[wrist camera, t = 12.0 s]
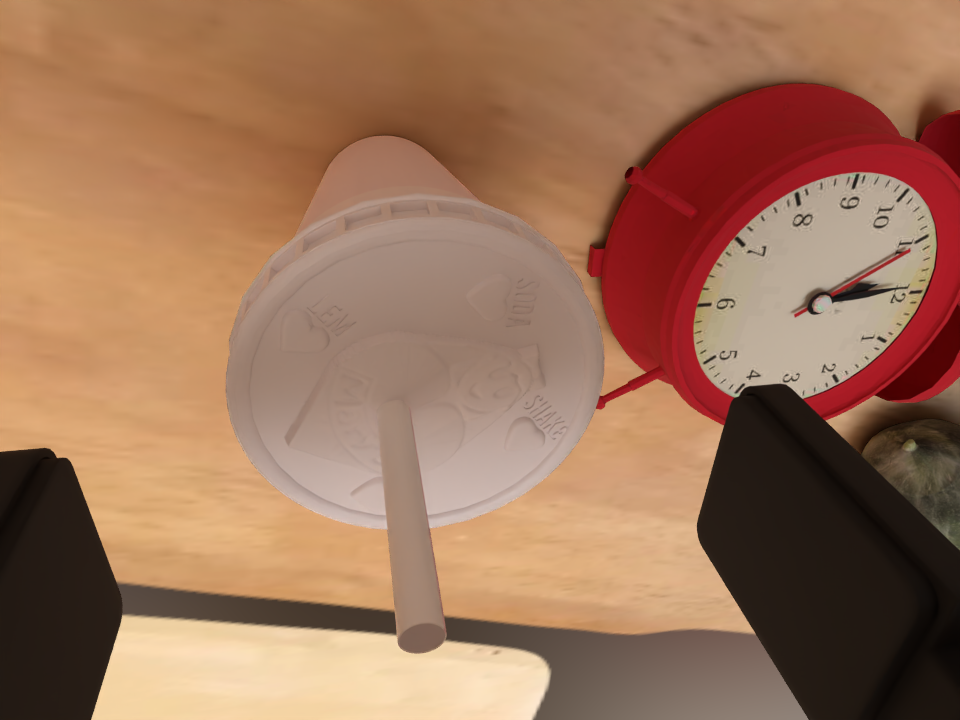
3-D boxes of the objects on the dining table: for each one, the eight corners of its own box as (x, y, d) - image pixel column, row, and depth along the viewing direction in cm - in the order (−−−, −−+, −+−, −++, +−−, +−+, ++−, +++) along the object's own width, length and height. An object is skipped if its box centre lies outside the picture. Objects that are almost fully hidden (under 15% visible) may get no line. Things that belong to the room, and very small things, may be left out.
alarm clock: (629, 116, 15) (1306, 136, 15) (599, 68, 21) (1099, 82, 20) (582, 461, 21) (1072, 482, 21) (568, 354, 26) (958, 370, 26)
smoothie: (229, 119, 17) (20, 516, 6) (468, 52, 17) (740, 303, 6) (317, 325, 21) (300, 824, 9) (515, 268, 21) (739, 687, 9)
